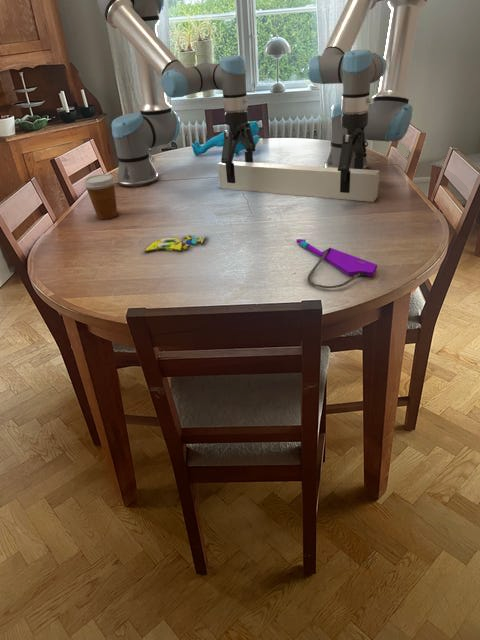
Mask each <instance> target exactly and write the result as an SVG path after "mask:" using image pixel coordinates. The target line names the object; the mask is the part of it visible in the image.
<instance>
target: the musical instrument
mask: <svg viewBox="0 0 480 640" xmlns="http://www.w3.org/2000/svg"><path fill="white" fill-rule="evenodd" d="M295 242H296V243H297V244H299V245H300V247H303V248H304V249H305V250H308V251H310V252H311V253H313V254H315V255H316V256H318V257H319V260H318V261H317V263H315V265H314V267H312V269H311V270H310V272H309V273H308V276H307V283H309V285H311V286H312V287H317V288H322V289H337V288H341V287H344V286H346V285H348V284H349V283H351V282H353V281H354V280H355V279H357V278H358V277H359V276H368V277H374V275H375V274H376V270H377V268H378V264H377V263H373V262H371V261H368V260H365V259H364V258H360V257H358V256H355V255H352V254H349V253H347V252H344V251H341V250H338V249H335V248H333V247H329V248H327V249H325V250H323V251H322V250H320V249H318V248H316V247H315V246H313V245H312V244H311V243H309V242H308V241H306V239H303V238H296V241H295ZM323 260H324V261H326V262H327V263H328V264H330V265H332V266H333V267H335V268H337V269H338V270H339V271H341V272H343V273H345V274H346V275H348V276H351V278H349V279H348V280H346V281H345V282H343V283H340V284H336V285H322V284H316V283H314V282H313V281H312V275H313V274H314V272H315V271H316V270H317V268H318V267H319V266H320V264H321V263H322V261H323Z"/></svg>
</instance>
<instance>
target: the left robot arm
mask: <svg viewBox="0 0 480 640" xmlns="http://www.w3.org/2000/svg"><path fill="white" fill-rule="evenodd" d="M96 3H97V6H98V10H99V12H100V14H101V15H102V17H103V18H104V20H105V21H106V22H107V23H108V24H109V26H110V27H112V28H113V29H117V30H118V31H119V32H120V34H122V35H123V36H124V38H126V40H127V41H128V42H129V43H130V44H131V45H132V47H133V50H134V55H135V63H136V67H137V73H138V79H139V87H140V93H141V99H142V105H141V107H140V108H139V112H131V113H128V114H127V113H126V114H122V115H121V116H117V117H115V118H114V119H113V120H112V122H111V135H112V138H113V141H114V146H115V151H116V156H117V160H118V167H117V168H118V170H117V183H118V186H120V187H123V188H124V187H125V188H136V187H137V188H138V187H145V186H147V185H148V186H149V185H151V184H154V183H156V182H157V181H158V180H159V176H158V172H157V169H156V168H155V166H154V163H153V161H152V160H153V155H151V154H150V152H152V150H151V149H154V148H157V147H160V146H163V145H164V146H165V145H168V144H169V143H172V142H174V141H175V140H177V138H178V137H179V134H180V130H181V123H180V117H179V116H177V113H176V112H175V111H174V110H173V109H172V105H170V104H169V102H167V97H169V98H171V99H174V98H183V97H185V96H189V95H193V94H198V93H204V92H208V91H212V90H213V91H214V90H215V91H222V98H223V99H222V100H223V110H224V111H225V112H224V122H225V125H226V126H228V127H229V128H228V130H229V131H226V130H224V131H223V132H224V143H223V146H222V152H221V159H220V163H225V164H226V174H227V183H235V171H234V163H232V161H234V157H235V155H236V154H235V150H236V146H237V144H238V143H239V142H240V141H241V143H242V144H243V146H244V148H245V149H244V150H245V151H244V162H252V163H254V154H253V153H254V152H256V146H257V144H256V145H255V142H254V139H253V135H252V132H251V129H250V123H249V122H250V121H249V111H248V110H247V109H248V102H249V100H248V97H247V95H248V93H247V69H246V61H245V58H244V56H242V55H237V54H236V55H226V56H221V58H220V59H219V62H220V63H212V62H211V63H210V62H203V63H202V62H201V63H197V64H196V65H193V66H188V67H186V66H185V65H184V64H183V63H182V62H181V61H180V59H178V57H176V55H175V54H174V53H173V52H172V51H171V50H170V49H169V47H168V46H167V45H166V44H165V43H164V42H163V41H162V40H161V38H160V37H159V36H158V31H157V25H159V23H160V14H161V13H162V12H163V10H164V6H165V0H96ZM228 138H229V139H228ZM251 144H252V145H251Z"/></svg>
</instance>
